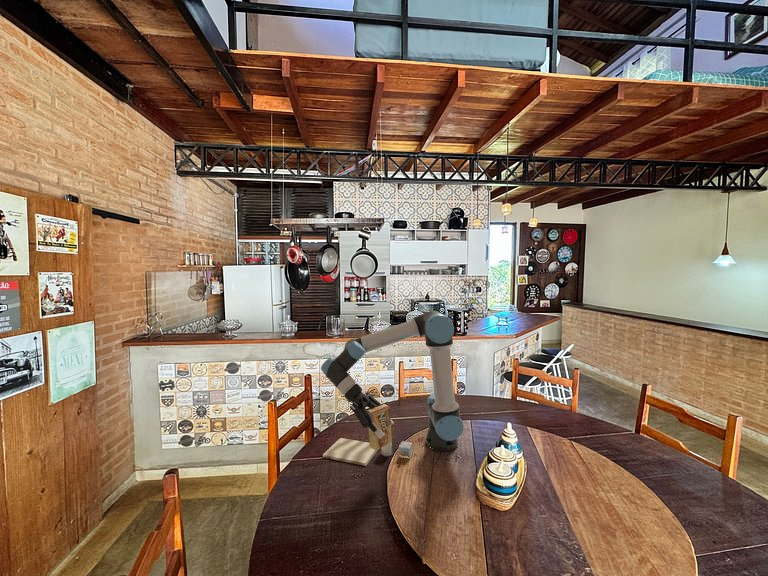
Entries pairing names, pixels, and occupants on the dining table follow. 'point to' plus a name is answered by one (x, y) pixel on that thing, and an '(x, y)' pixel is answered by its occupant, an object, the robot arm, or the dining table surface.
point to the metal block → (405, 448)
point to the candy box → (380, 426)
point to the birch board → (351, 451)
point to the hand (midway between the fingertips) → (387, 430)
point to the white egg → (387, 450)
